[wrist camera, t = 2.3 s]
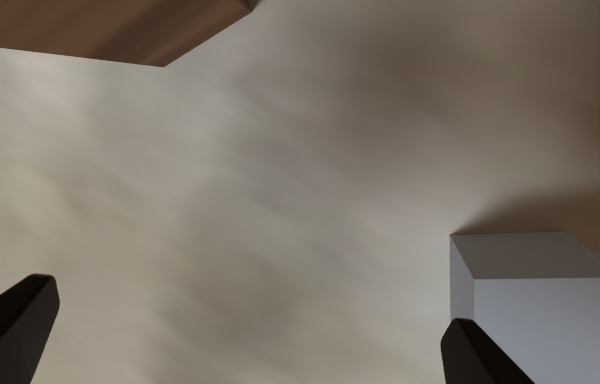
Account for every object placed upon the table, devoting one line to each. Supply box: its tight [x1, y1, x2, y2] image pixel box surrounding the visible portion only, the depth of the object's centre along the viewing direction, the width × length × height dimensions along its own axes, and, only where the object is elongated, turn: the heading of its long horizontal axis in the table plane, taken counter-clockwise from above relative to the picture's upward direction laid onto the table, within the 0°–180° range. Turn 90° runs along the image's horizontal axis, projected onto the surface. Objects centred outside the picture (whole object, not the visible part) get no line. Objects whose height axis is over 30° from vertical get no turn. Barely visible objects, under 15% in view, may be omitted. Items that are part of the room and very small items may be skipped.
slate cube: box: [450, 231, 600, 384], centre depth 18 cm, size 5×5×5 cm
